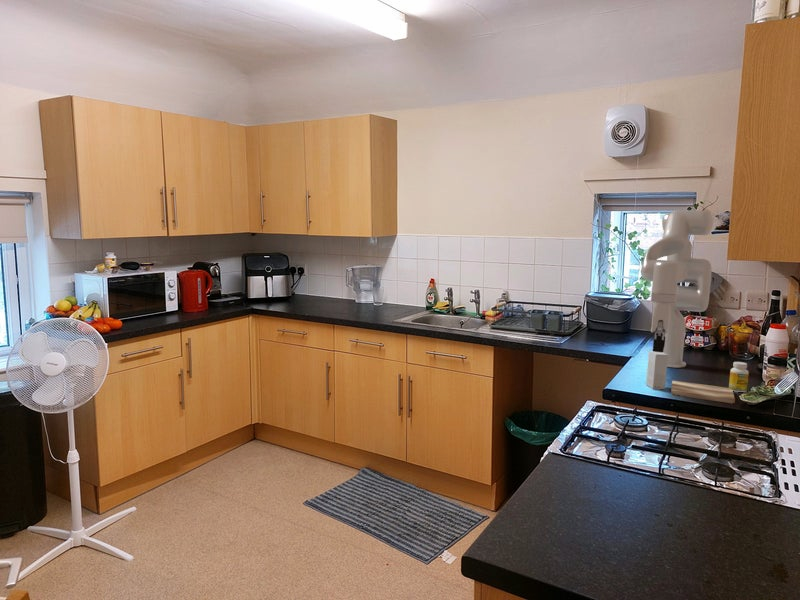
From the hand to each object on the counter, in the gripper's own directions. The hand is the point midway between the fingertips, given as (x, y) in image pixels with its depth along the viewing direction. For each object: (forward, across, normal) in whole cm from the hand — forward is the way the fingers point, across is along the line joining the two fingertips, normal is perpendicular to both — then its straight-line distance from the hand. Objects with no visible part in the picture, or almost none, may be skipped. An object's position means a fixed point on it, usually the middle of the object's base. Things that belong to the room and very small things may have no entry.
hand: (658, 349), depth 197 cm
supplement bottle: (+13, -12, +25) cm, 31 cm away
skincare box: (+13, -1, 0) cm, 13 cm away
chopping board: (+13, -1, +14) cm, 19 cm away
